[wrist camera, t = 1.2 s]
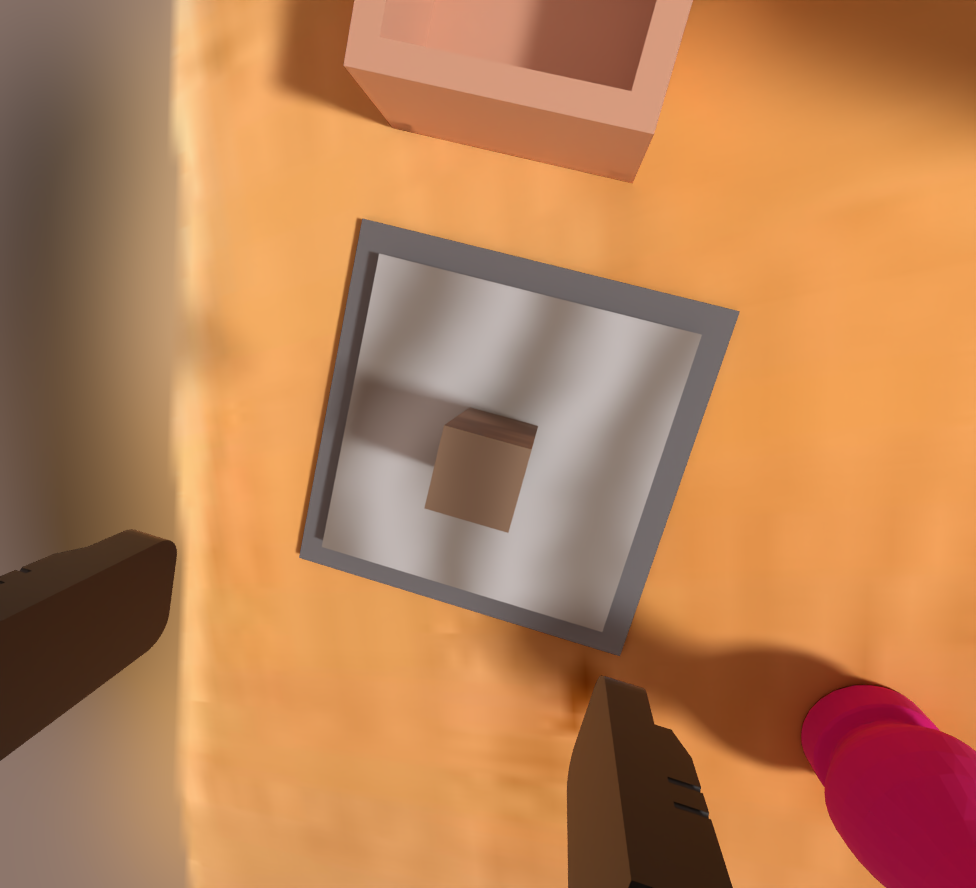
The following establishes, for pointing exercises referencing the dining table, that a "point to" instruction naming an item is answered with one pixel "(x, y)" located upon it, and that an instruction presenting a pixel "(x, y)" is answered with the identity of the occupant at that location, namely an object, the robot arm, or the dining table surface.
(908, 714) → the pepper mill
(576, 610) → the lid
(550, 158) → the pink storage bin
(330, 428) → the mat
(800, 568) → the dining table surface
